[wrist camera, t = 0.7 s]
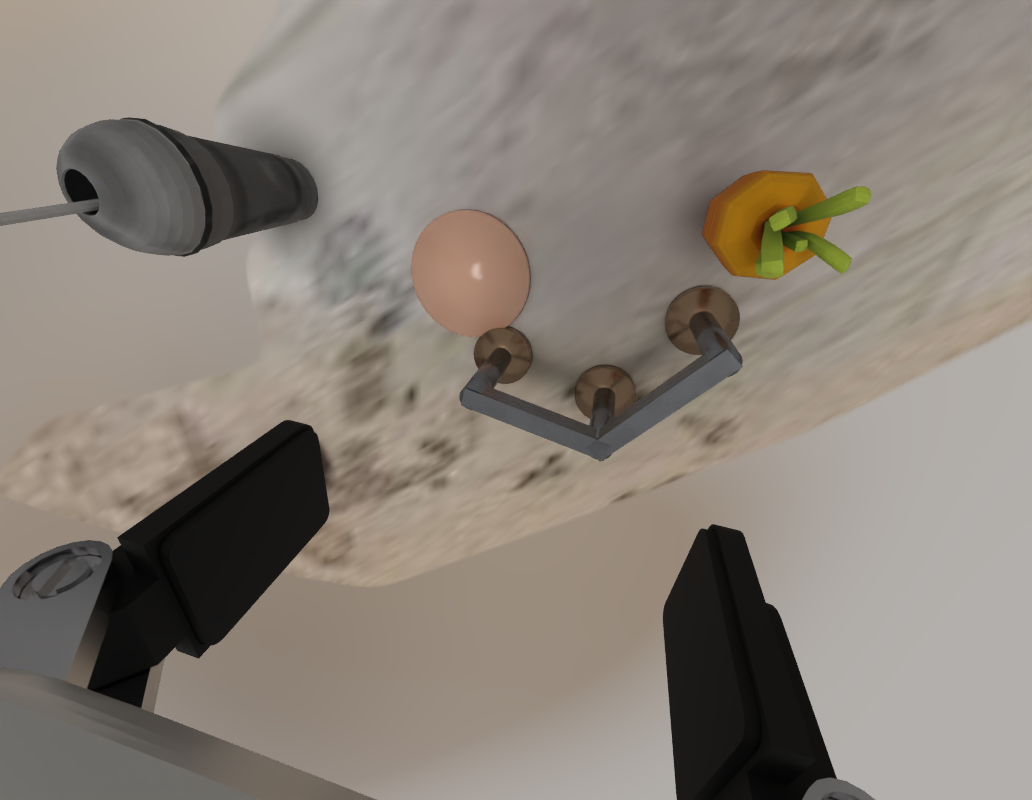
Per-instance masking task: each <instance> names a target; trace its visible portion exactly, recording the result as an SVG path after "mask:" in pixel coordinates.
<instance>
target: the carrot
mask: <svg viewBox="0 0 1032 800" xmlns="http://www.w3.org/2000/svg"><path fill="white" fill-rule="evenodd" d="M870 198H871V192H870V189H869V188H866V187H854V188H851V189H849V190H846V191H844V192H842V193H840V194H838V195H836V196H833V197H831V198H829V199H827V198H826V197H825V195H824V193H823V191H822V190H821V188H820V186H819V185H818V183H817V181H816V179H815V178H814V176H813V174H811V173H798V172H780V171H758V172H754V173H750V174H747V175H744V176H742V177H741V178H740V179H738V180H737V181H736V182H734V183H733V184H732V185H731V186H729V187H728V188H727V189H725V190H724V191H723V192H721V193H720V194H719V195H718V196H716V197H715V198H714V199H712V200H711V201H710V204H709V208H708V212H707V216H706V220H705V223H704V227H703V231H702V236H703V237H704V239H705V240H706V242H707V243H708V245H709V246H710V248H711V249H712V251H713V252H714V254H715V255H716V257H717V258H718V260H719V261H720V262H721V264H722V265H723V266H724V267H725V268H726V270H727V271H728V272H729V273H730V274H731V275H734V276H743V277H753V278H763V279H773V280H776V279H778V278H780V277H781V276H783V275H785V274H786V273H788V272H789V271H791V270H793V269H794V268H796V267H797V266H799V265H800V264H802V263H804V262H805V261H807V260H808V259H810V258H812V257H813V256H815V255H817V256H818V257H819V258H821V259H822V260H823V261H824V262H826V263H827V264H828V265H830V266H831V267H832V268H833V269H835V270H837V271H838V272H840V273H841V274H842V273H844V272H845V271H846V270H847V269H848V268H849V266H850V263H851V259H852V258H851V257H850V256H849V255H847V254H846V253H845V252H844V251H842V250H841V249H839V248H838V247H837V246H835V245H833V244H832V243H830V242H828V241H827V240H825V239H823V238H824V235H825V233H826V230H827V228H828V225H829V222H830V220H831V217H834V216H838V215H842V214H845V213H848V212H850V211H853V210H856V209H858V208H860V207H862V206H864V205H866V204H868V203H869V201H870Z"/></svg>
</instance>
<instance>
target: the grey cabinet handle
mask: <svg viewBox="0 0 1032 800" xmlns="http://www.w3.org/2000/svg"><path fill="white" fill-rule="evenodd" d="M739 321H740V315H739V310H738V307H737V305H736V303H735V302H734V300H733V299H732V298H731V297H730V296H729V295H728V294H727V293H726V292H724V291H723V290H721V289H719V288H716V287H712V286H699V287H694V288H691V289H689V290H687V291H685V292H683V293H682V294H680V295H679V296H678V297H677V298H676V299H675V300H674V301H673V302H672V303H671V305H670V307H669V309H668V311H667V314H666V319H665V326H666V330H667V334H668V337H669V339H670V340H671V342H672V343H673V344H674V345H675V346H676V347H677V348H678V349H680V350H681V351H683V352H686V353H689V354H694V355H702V356H701V357H699V358H698V359H696V360H695V361H694V362H692V363H691V364H689V365H688V366H687V367H685V368H684V369H682V370H681V371H680V372H678V373H677V374H675V375H674V376H673V377H671V378H670V379H668V380H667V381H666V382H664V383H663V384H661V385H660V386H659V387H657V388H656V389H654V390H653V391H652V392H650V393H649V394H647V395H646V396H645V397H643V398H642V399H640V400H639V401H638V402H636V403H635V404H634V402H635V387H634V384H633V381H632V379H631V378H630V376H629V375H628V374H627V373H626V372H625V371H623V370H622V369H620V368H618V367H615V366H610V365H600V366H595V367H593V368H591V369H589V370H587V371H586V372H585V373H584V374H583V375H582V376H581V377H580V379H579V381H578V383H577V386H576V391H575V400H576V404H577V406H578V408H579V409H580V411H581V412H582V413H583V414H584V415H585V416H587V417H588V418H590V425H586V424H583V423H581V422H578V421H576V420H573V419H570V418H568V417H565V416H563V415H560V414H558V413H555V412H552V411H550V410H547V409H545V408H542V407H540V406H537V405H534V404H532V403H529V402H527V401H524V400H521V399H519V398H516V397H514V396H511V395H509V394H506V393H503V392H501V391H498V390H496V389H494V387H495V386H496V384H497V383H501V384H508V383H513V382H516V381H518V380H519V379H521V378H522V377H523V376H524V375H525V373H526V372H527V370H528V368H529V366H530V364H531V361H532V349H531V346H530V344H529V342H528V340H527V338H526V337H525V336H524V335H523V334H522V333H521V332H519V331H518V330H516V329H514V328H512V327H508V326H507V327H506V328H495V329H491V330H489V331H487V332H485V333H484V334H483V335H482V336H481V337H480V338H479V339H478V341H477V343H476V345H475V348H474V359H475V363H476V365H477V367H478V371H477V372H476V373H475V374H474V376H473V377H472V378H471V379H470V381H469V382H468V383H467V384H466V386H465V387H464V388H463V389H462V391H461V392H460V401H461V405H462V406H464V407H466V408H467V409H470V410H474V411H477V412H479V413H482V414H485V415H487V416H490V417H492V418H495V419H497V420H500V421H502V422H505V423H507V424H510V425H513V426H515V427H518V428H520V429H523V430H525V431H528V432H530V433H533V434H535V435H538V436H541V437H543V438H546V439H548V440H551V441H553V442H556V443H558V444H561V445H564V446H566V447H569V448H571V449H574V450H576V451H579V452H581V453H584V454H586V455H589V456H591V457H592V458H594V459H598V460H599V461H601V460H602V461H604V459H606V458H608V457H610V456H611V454H612V453H613V452H615V451H616V450H618V449H619V448H621V447H622V446H624V445H625V444H627V443H628V442H630V441H631V440H633V439H635V438H636V437H638V436H639V435H641V434H642V433H644V432H645V431H647V430H648V429H650V428H651V427H653V426H654V425H656V424H657V423H659V422H660V421H662V420H663V419H665V418H666V417H668V416H669V415H671V414H672V413H674V412H675V411H677V410H678V409H680V408H681V407H683V406H684V405H686V404H687V403H689V402H690V401H692V400H693V399H695V398H696V397H698V396H699V395H701V394H702V393H704V392H705V391H707V390H708V389H710V388H711V387H713V386H715V385H716V384H718V383H719V382H721V381H722V380H724V379H725V378H727V377H730V376H732V375H734V374H735V373H737V372H738V371H739V370H740V368H742V367H743V366H742V357H741V355H740V353H739V352H738V350H737V349H736V347H735V346H734V345H733V343H732V342H731V339H732V338H733V336H734V335H735V333H736V331H737V329H738V326H739Z"/></svg>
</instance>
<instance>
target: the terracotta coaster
mask: <svg viewBox="0 0 1032 800" xmlns="http://www.w3.org/2000/svg"><path fill="white" fill-rule="evenodd" d="M411 270H412V279H413V284H414V288H415V291H416V293H417V296H418V298H419V300H420V302H421V304H422V305H423V307H424V308H425V310H426V311H427V312H428V314H429V315H430V316H431V317H432V318H433V319H434V320H435V321H436V322H437V323H439V324H440V325H441V326H443V327H444V328H446V329H448V330H450V331H452V332H454V333H457V334H460V335H463V336H469V337H481V336H482V335H483V334H484V333H485V332H487V331H489V330H491V329H495V328H506V327H507V326H508V325H509V324H511V323H512V322H513V320H514V319H515V318H516V317H517V316H518V315H519V313H520V312H521V310H522V309H523V307H524V305H525V303H526V300H527V297H528V293H529V288H530V268H529V262H528V259H527V256H526V253H525V251H524V248H523V246H522V244H521V243H520V241H519V239H518V238H517V237H516V235H515V234H514V233H513V231H512V230H511V229H510V228H509V227H508V226H507V225H505V224H504V223H503V222H501V221H500V220H499V219H497V218H495V217H493V216H492V215H489V214H487V213H484V212H480V211H476V210H458V211H453V212H449V213H446V214H444V215H441V216H440V217H438V218H436V219H435V220H433V221H432V222H431V223H430V224H429V225H428V226H427V227H426V228H425V229H424V230H423V232H422V233H421V235H420V236H419V238H418V240H417V242H416V245H415V248H414V251H413V256H412V265H411Z"/></svg>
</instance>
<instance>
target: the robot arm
mask: <svg viewBox="0 0 1032 800" xmlns="http://www.w3.org/2000/svg"><path fill="white" fill-rule="evenodd" d="M328 516H329V503H328V497H327V491H326V484H325V478H324V472H323V465H322V459H321V453H320V446H319V440H318V436H317V434H316V433H315V432H314V431H313V428H312V427H311V426H310V425H307V424H303V423H299V422H295V421H291V420H285V421H283V422H281V423H280V424H278V425H277V426H276V427H274V428H273V429H271V430H270V431H268V432H267V433H266V434H264V435H263V436H261V437H260V438H258V439H257V440H256V441H254V442H253V443H251V444H250V445H248V446H247V447H246V448H244V449H243V450H241V451H240V452H238V453H237V454H236V455H234V456H233V457H231V458H230V459H228V460H227V461H226V462H224V463H223V464H221V465H220V466H219V467H217V468H216V469H214V470H213V471H211V472H210V473H209V474H207V475H206V476H204V477H203V478H201V479H200V480H199V481H197V482H196V483H194V484H193V485H191V486H190V487H189V488H187V489H186V490H184V491H183V492H181V493H180V494H179V495H177V496H176V497H174V498H173V499H171V500H170V501H169V502H167V503H166V504H164V505H163V506H161V507H160V508H159V509H157V510H156V511H154V512H153V513H151V514H150V515H149V516H147V517H146V518H144V519H143V520H141V521H140V522H139V523H137V524H136V525H134V526H133V527H132V528H130V529H129V530H127V531H126V532H124V533H123V534H122V535H120V536H119V537H118V540H119V542H120V543H121V546H119V547H118V548H116V549H115V550H114V551H112V549H111V548H110V546H109V545H108V544H106V543H103V542H101V541H92V540H87V541H79V542H73V543H69V544H66V545H62V546H59V547H56V548H54V549H51V550H49V551H47V552H44V553H42V554H40V555H38V556H36V557H35V558H33V559H31V560H30V561H28V562H26V563H25V564H23V565H22V566H21V567H19V568H18V569H17V570H16V571H15V572H13V573H12V574H11V575H10V576H9V577H8V579H7V580H6V581H5V582H4V583H3V585H2V586H1V588H0V800H376V799H373V798H371V797H368V796H365V795H363V794H360V793H358V792H355V791H353V790H350V789H348V788H345V787H343V786H340V785H338V784H335V783H332V782H330V781H327V780H325V779H322V778H319V777H317V776H314V775H312V774H309V773H307V772H304V771H302V770H299V769H296V768H294V767H291V766H289V765H286V764H284V763H281V762H279V761H276V760H274V759H271V758H268V757H266V756H263V755H261V754H258V753H255V752H253V751H250V750H248V749H245V748H243V747H240V746H237V745H234V744H232V743H229V742H227V741H224V740H222V739H219V738H216V737H214V736H211V735H209V734H206V733H203V732H201V731H198V730H196V729H193V728H190V727H188V726H185V725H183V724H180V723H178V722H175V721H172V720H170V719H167V718H164V717H162V716H159V715H156V714H154V708H155V703H156V698H157V693H158V689H159V684H160V679H161V674H162V669H163V665H164V660H165V657H166V656H167V655H168V654H169V653H170V652H171V651H172V650H173V649H174V648H175V647H176V649H177V651H179V652H182V653H185V654H188V655H190V656H193V657H196V658H200V657H201V656H202V654H203V653H204V652H205V651H206V650H207V649H208V648H209V647H210V646H211V645H215V644H217V643H218V642H220V641H221V640H222V639H223V638H224V637H225V636H226V635H227V634H228V632H229V631H230V630H231V629H232V628H233V627H234V626H235V625H236V623H237V622H238V621H239V620H240V619H241V618H242V617H243V615H244V614H245V613H246V612H247V611H248V610H249V609H250V608H251V606H252V605H253V604H254V603H255V602H256V601H257V600H258V599H259V597H260V596H261V595H262V594H263V593H264V592H265V590H266V589H267V588H268V587H269V586H270V585H271V584H272V582H273V581H274V580H275V579H276V578H277V577H278V576H279V575H280V574H281V572H282V571H283V570H284V569H285V568H286V567H287V566H288V565H289V563H290V562H291V561H292V560H293V559H294V558H295V557H296V555H297V554H298V553H299V552H300V551H301V550H302V549H303V548H304V546H305V545H306V544H307V543H308V542H309V541H310V540H311V538H312V537H313V536H314V535H315V534H316V533H317V532H318V531H319V529H320V528H321V527H322V526H323V525H324V524H325V522H326V520H327V519H328ZM663 627H664V640H665V652H666V666H667V678H668V692H669V705H670V718H671V730H672V743H673V756H674V769H675V783H676V795H677V800H875V799H873V798H872V797H871V796H870V795H869V794H867V793H866V792H865V791H863V790H861V789H860V788H858V787H856V786H854V785H852V784H850V783H848V782H847V781H843V780H838V779H837V778H836V775H835V772H834V769H833V767H832V764H831V761H830V758H829V755H828V752H827V749H826V746H825V744H824V741H823V738H822V735H821V732H820V729H819V726H818V723H817V720H816V717H815V715H814V712H813V709H812V706H811V703H810V700H809V697H808V694H807V692H806V689H805V686H804V683H803V680H802V677H801V674H800V671H799V668H798V665H797V663H796V660H795V657H794V654H793V651H792V648H791V645H790V642H789V640H788V637H787V634H786V631H785V628H784V625H783V622H782V619H781V617H780V615H779V613H778V611H777V609H776V608H775V607H774V606H773V605H771V604H768V603H766V602H765V600H764V596H763V593H762V590H761V587H760V584H759V581H758V577H757V575H756V571H755V568H754V565H753V562H752V559H751V556H750V553H749V550H748V546H747V544H746V541H745V537H744V535H743V533H742V532H741V531H738V530H735V529H730V528H727V527H722V526H718V525H714V524H713V525H711V526H710V527H709V528H708V530H706V529H700V531H699V532H698V534H697V536H696V538H695V541H694V543H693V545H692V547H691V549H690V551H689V553H688V556H687V558H686V560H685V562H684V564H683V567H682V568H681V571H680V573H679V575H678V577H677V579H676V581H675V583H674V586H673V588H672V590H671V592H670V594H669V596H668V599H667V601H666V603H665V606H664V611H663Z"/></svg>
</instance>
